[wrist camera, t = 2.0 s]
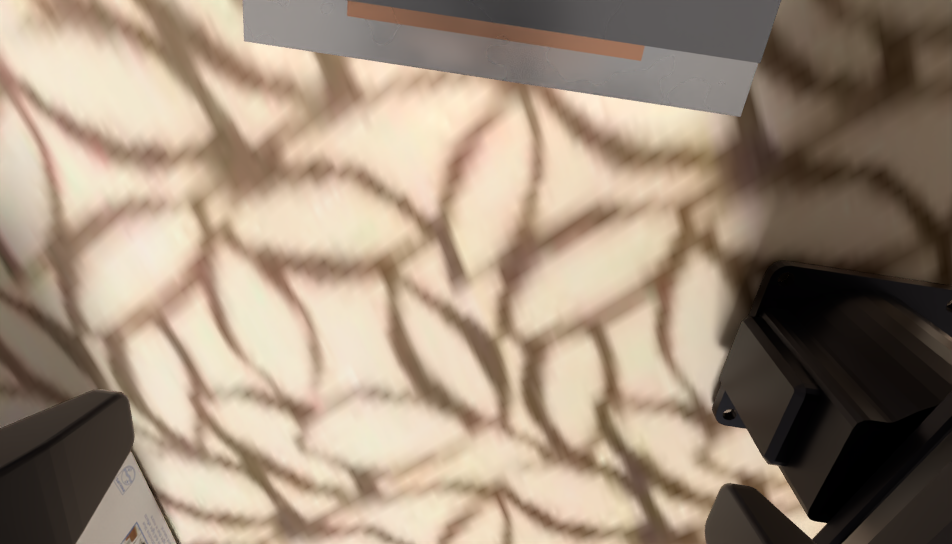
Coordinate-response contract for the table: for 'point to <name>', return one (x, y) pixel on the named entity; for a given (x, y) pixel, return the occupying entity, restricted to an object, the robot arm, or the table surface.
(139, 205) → the table surface
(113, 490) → the light bulb box
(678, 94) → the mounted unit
